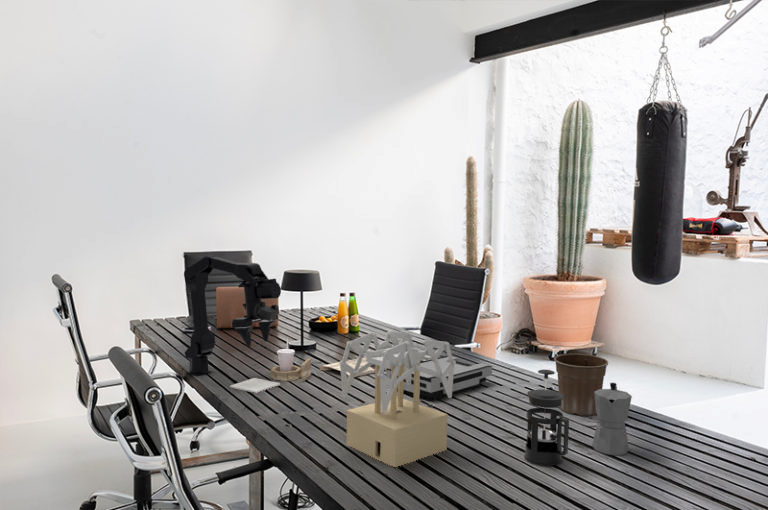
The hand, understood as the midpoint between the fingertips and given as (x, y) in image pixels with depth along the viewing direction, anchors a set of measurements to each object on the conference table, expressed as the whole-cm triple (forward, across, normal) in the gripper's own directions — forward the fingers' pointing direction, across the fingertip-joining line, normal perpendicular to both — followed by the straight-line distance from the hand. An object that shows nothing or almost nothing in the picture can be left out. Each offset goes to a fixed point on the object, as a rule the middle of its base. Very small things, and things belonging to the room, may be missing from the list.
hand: (257, 343), depth 232 cm
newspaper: (+17, +41, -20) cm, 49 cm away
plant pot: (+27, +27, -102) cm, 109 cm away
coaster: (+14, -3, 0) cm, 14 cm away
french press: (+27, -18, -103) cm, 108 cm away
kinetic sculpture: (+23, -29, -66) cm, 76 cm away
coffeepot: (+29, -1, -116) cm, 120 cm away
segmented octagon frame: (+15, +12, -3) cm, 19 cm away
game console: (+21, +29, -55) cm, 65 cm away
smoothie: (+15, +12, -2) cm, 19 cm away
